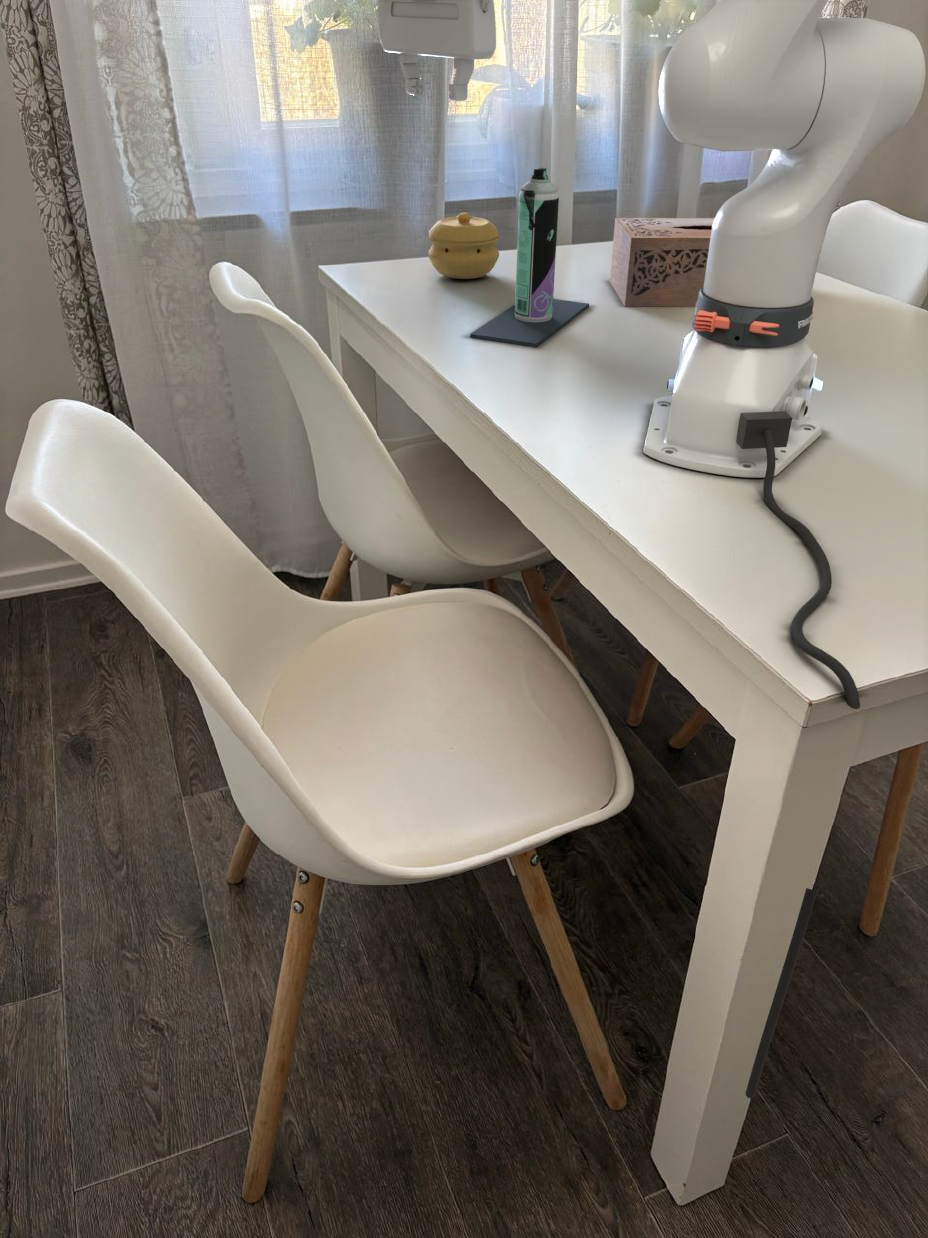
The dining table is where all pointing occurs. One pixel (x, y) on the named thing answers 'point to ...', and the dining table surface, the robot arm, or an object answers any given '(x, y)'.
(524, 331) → the mat
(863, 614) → the dining table surface
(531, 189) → the spray can
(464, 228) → the pot
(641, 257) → the tissue box cover
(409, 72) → the robot arm
